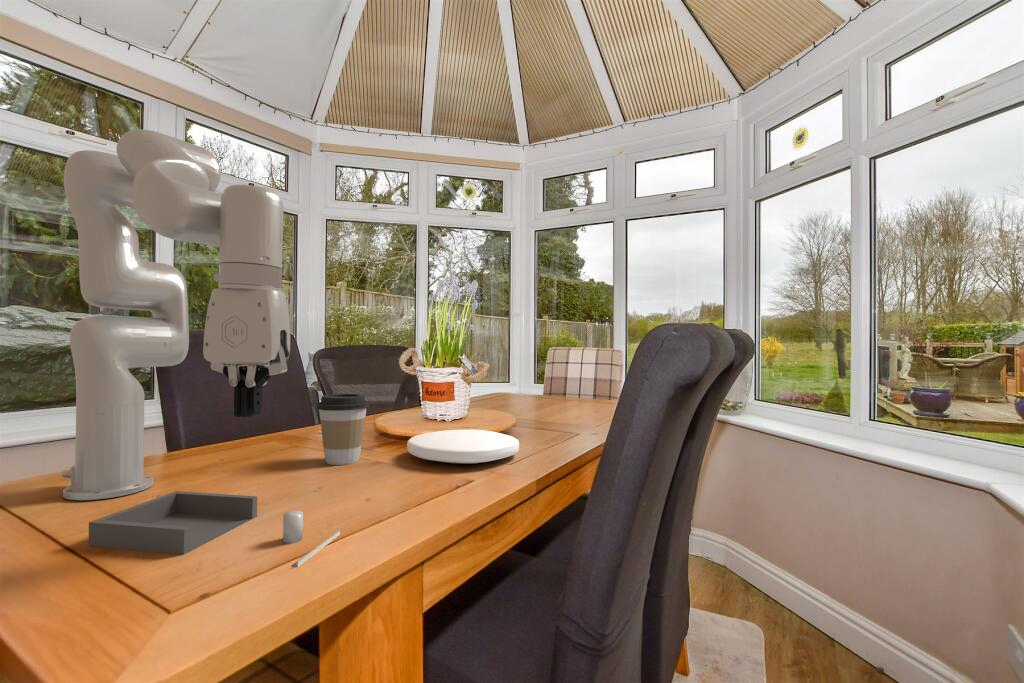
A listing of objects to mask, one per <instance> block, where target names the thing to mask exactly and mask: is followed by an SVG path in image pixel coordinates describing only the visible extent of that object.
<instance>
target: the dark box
mask: <svg viewBox="0 0 1024 683" xmlns="http://www.w3.org/2000/svg"><path fill="white" fill-rule="evenodd" d="M257 517H258V496H257V495H256V496H255V495H241V494H227V493H210V492H198V491H197V492H196V491H180V490H176V491H175V490H174V491H173V492H169V493H167V494H164V495H161V496H159V497H155V498H152V499H150V500H147V501H144V502H143V503H139V504H136V505H133V506H131V507H128V508H124V509H122V510H120V511H117V512H113V513H111V514H108V515H105V516H102V517H100V518H97V519H94V520H91V521H89V522H88V545H87V546H88V547H92V548H101V549H102V548H105V549H106V548H107V549H115V550H127V551H137V552H138V551H139V552H148V553H149V552H150V553H161V554H173V555H181V556H182V555H187V554H188V553H190V552H192V551H193V550H195V549H198V548H200V547H202V546H204V545H205V544H208V543H209V542H211V541H213V540H215V539H217V538H219V537H221V536H222V535H225V534H227V533H228V532H230V531H233V530H234V529H236V528H238V527H240V526H242V525H244V524H245V523H248V522H250V521H251V520H253V519H256V518H257Z"/></svg>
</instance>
